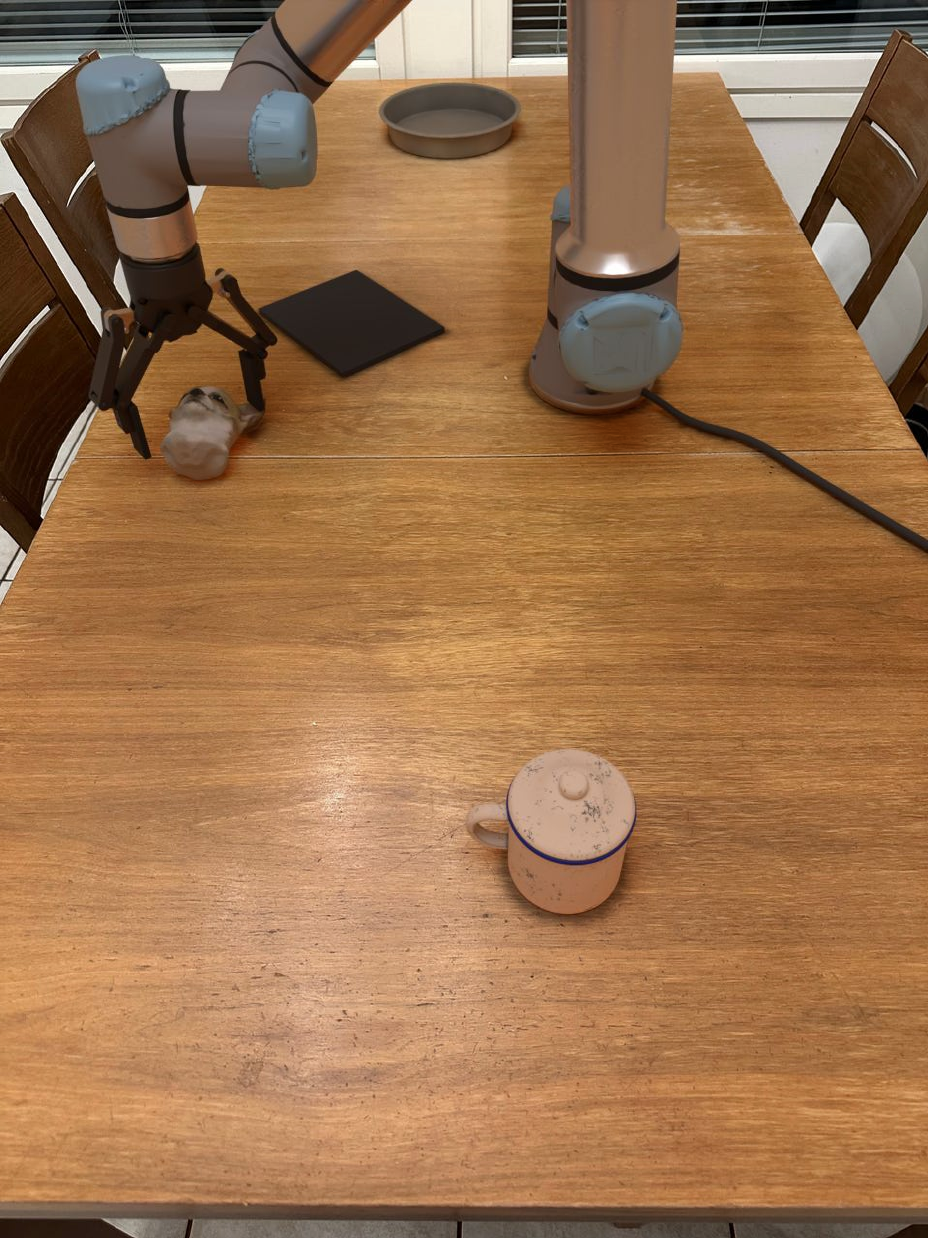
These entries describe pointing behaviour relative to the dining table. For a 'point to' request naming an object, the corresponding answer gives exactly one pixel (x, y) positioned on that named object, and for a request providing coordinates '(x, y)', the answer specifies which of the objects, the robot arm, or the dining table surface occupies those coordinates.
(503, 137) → the cake pan
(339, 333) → the desk pad
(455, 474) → the dining table surface
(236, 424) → the ceramic sculpture
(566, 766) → the teacup with lid
